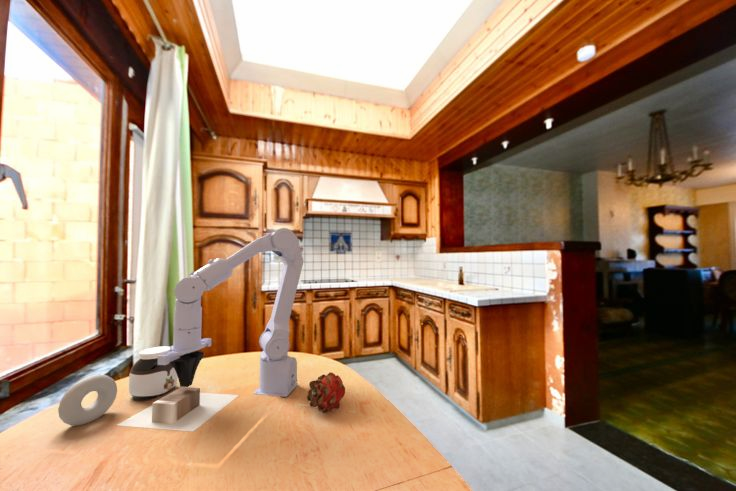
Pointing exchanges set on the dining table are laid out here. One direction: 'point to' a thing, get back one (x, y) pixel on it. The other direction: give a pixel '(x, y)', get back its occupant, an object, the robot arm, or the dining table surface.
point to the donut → (73, 397)
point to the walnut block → (175, 405)
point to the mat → (191, 420)
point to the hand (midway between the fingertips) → (186, 385)
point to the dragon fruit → (326, 392)
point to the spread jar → (151, 375)
